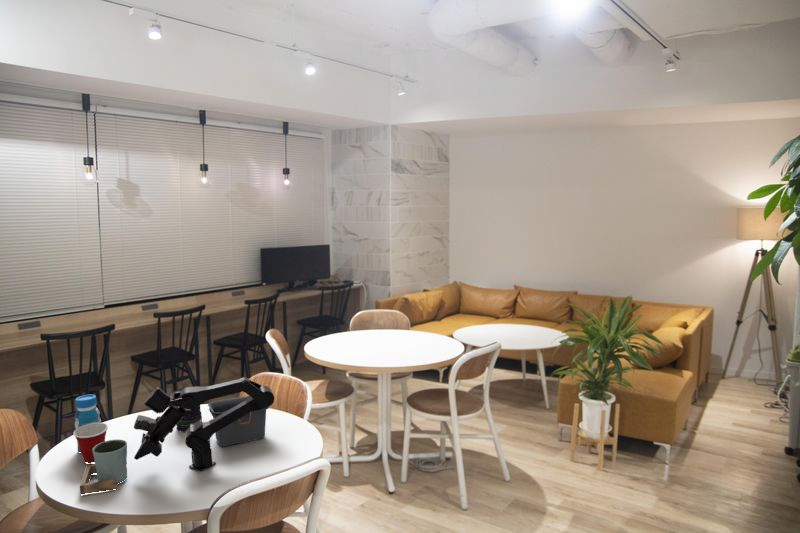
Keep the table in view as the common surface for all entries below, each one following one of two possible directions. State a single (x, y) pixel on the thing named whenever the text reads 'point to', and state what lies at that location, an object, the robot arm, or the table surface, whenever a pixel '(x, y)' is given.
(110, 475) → the green plant pot
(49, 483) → the table surface
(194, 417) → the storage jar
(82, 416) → the beverage bottle
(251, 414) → the storage bin
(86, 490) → the walnut bay
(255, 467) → the table surface
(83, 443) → the plastic cup
